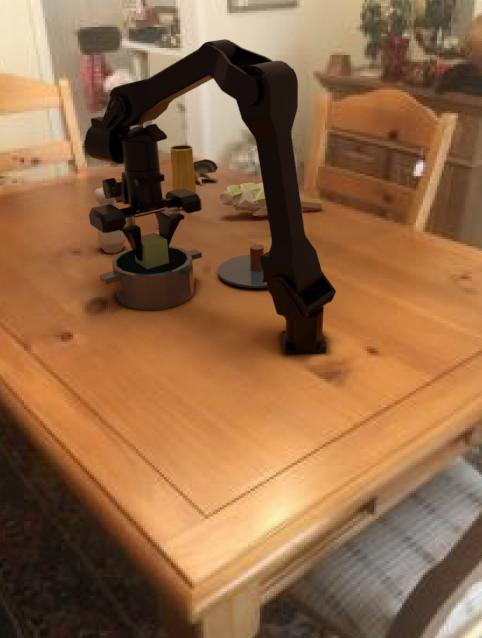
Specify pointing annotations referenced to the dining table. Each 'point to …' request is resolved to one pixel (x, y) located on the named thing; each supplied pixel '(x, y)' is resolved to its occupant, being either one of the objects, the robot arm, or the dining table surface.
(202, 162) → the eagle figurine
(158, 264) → the block
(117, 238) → the salt shaker
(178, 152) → the vase
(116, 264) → the pot
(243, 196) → the decorative object
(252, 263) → the lid
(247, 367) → the dining table surface
